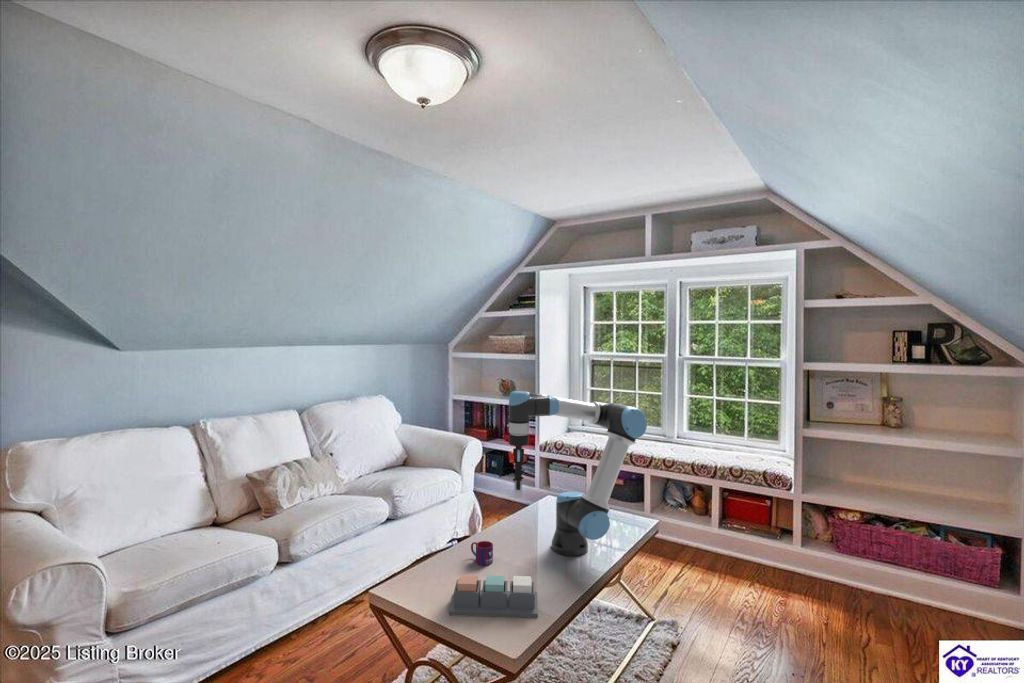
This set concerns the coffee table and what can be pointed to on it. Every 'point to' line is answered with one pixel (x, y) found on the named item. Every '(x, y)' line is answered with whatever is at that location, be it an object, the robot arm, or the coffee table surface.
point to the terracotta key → (467, 583)
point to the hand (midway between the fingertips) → (518, 497)
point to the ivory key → (522, 584)
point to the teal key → (494, 583)
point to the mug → (483, 552)
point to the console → (494, 602)
